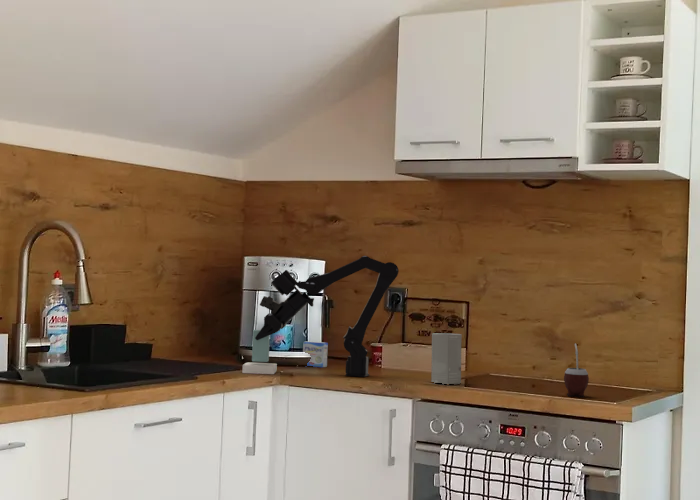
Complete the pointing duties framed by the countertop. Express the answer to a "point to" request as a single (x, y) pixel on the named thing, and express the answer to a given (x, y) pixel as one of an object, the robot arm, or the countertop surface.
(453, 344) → the skincare box
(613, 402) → the countertop surface
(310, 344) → the medicine box
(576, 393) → the mate gourd
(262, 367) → the grey plinth
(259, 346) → the teal block
